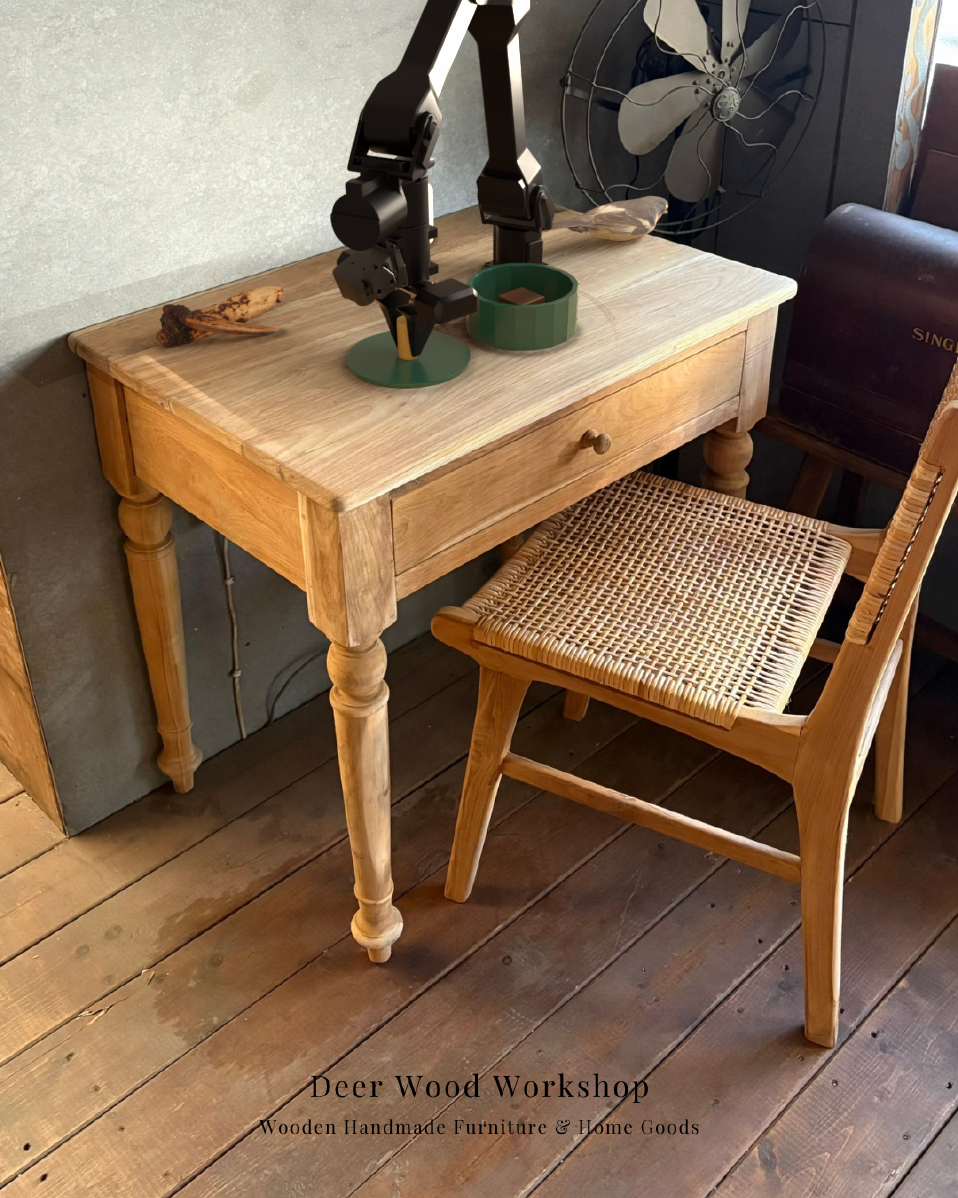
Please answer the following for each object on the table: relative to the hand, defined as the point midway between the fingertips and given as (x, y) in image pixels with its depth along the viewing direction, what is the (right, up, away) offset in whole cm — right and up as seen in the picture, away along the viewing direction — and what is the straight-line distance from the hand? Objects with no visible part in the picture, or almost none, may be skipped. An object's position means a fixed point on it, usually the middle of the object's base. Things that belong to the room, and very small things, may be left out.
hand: (408, 351), depth 138 cm
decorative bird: (+26, +21, +31) cm, 46 cm away
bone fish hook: (-22, +4, +8) cm, 24 cm away
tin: (+13, +4, +8) cm, 16 cm away
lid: (0, -1, 0) cm, 1 cm away
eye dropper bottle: (0, +22, +31) cm, 38 cm away
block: (+13, +5, +8) cm, 16 cm away
